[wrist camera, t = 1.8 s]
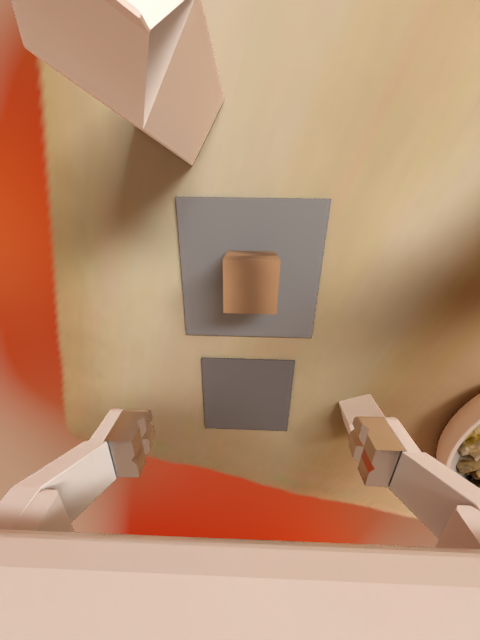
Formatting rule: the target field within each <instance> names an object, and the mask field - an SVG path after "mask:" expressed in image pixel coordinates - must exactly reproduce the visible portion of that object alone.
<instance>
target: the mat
mask: <svg viewBox="0 0 480 640" xmlns="http://www.w3.org/2000/svg"><path fill="white" fill-rule="evenodd" d="M294 365H295V360H267V359H233V358H202V377H203V395H204V413H205V428H216V429H243V430H271V431H287V425H288V417H289V408H290V399H291V391H292V382H293V373H294Z"/></svg>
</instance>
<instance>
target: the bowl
mask: <svg viewBox="0 0 480 640" xmlns="http://www.w3.org/2000/svg"><path fill="white" fill-rule="evenodd" d="M436 460H438V461H439V462H441V463H442V464H444V465H445V466H447V467H448V468H450V469H451V470H453V471H454V472H456V473H457V474H459V475H460V476H462V477H463V478H465V479H466V480H468V481H469V482H471V483H472V484H474V485H475V486H477V487H478V488H480V394H478V395H477V396H475V397H474V398H472V399H471V400H470V401H468V402H467V403H466V404H465V405H464V406H463V407H461V408H460V409H459V410H458V411H457V412H456V413H455V415H454V416H453V417H452V418H451V419H450V421H449V422H448V424H447V425H446V427H445V428H444V430H443V432H442V434H441V436H440V439H439V442H438V446H437V453H436Z"/></svg>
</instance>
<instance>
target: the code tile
mask: <svg viewBox="0 0 480 640" xmlns="http://www.w3.org/2000/svg"><path fill="white" fill-rule="evenodd" d="M330 204H331V199H300V198H224V197H176V208H177V221H178V233H179V246H180V259H181V272H182V284H183V297H184V310H185V322H186V335H220V336H257V337H294V338H312V332H313V325H314V318H315V311H316V304H317V296H318V289H319V282H320V275H321V268H322V261H323V254H324V246H325V239H326V232H327V225H328V218H329V211H330ZM227 251H275V252H276V253H277V255H278V257H279V259H280V260H281V262H280V276H279V289H278V302H277V314H241V313H223V258H224V256H225V254H226V252H227Z"/></svg>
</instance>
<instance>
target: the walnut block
mask: <svg viewBox="0 0 480 640" xmlns="http://www.w3.org/2000/svg"><path fill="white" fill-rule="evenodd" d="M280 262H281V260H280V259H279V257H278V255H277V253H276V252H275V251H227V252H226V254H225V256H224V258H223V313H241V314H277V302H278V289H279V276H280Z"/></svg>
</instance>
